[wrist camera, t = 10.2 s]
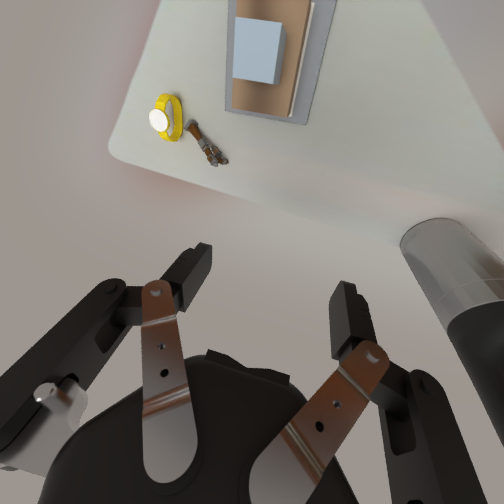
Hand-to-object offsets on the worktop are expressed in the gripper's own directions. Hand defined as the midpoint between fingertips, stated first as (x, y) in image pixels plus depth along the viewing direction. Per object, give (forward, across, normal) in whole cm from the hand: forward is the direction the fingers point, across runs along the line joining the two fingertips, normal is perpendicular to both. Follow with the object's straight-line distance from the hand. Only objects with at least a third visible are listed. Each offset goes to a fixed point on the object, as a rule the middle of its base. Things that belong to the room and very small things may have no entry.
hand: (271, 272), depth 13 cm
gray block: (+20, +6, -11) cm, 24 cm away
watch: (+26, +20, -3) cm, 34 cm away
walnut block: (+26, +7, -11) cm, 29 cm away
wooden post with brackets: (+27, +15, 0) cm, 31 cm away
